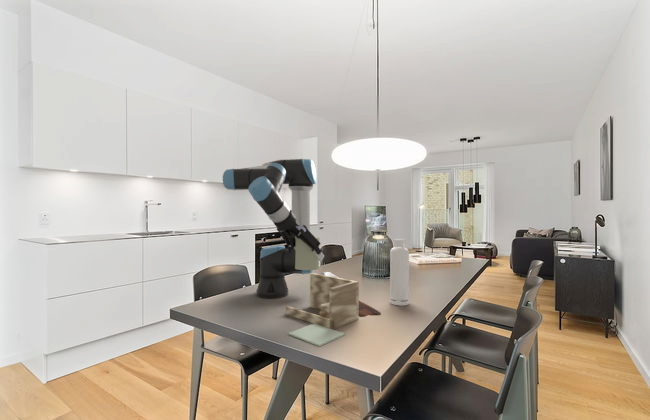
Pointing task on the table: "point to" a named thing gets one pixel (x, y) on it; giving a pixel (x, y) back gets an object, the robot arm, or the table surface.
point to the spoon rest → (328, 274)
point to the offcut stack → (325, 310)
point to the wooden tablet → (367, 310)
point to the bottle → (399, 273)
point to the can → (305, 256)
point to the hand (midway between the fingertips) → (313, 257)
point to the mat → (316, 334)
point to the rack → (331, 301)
